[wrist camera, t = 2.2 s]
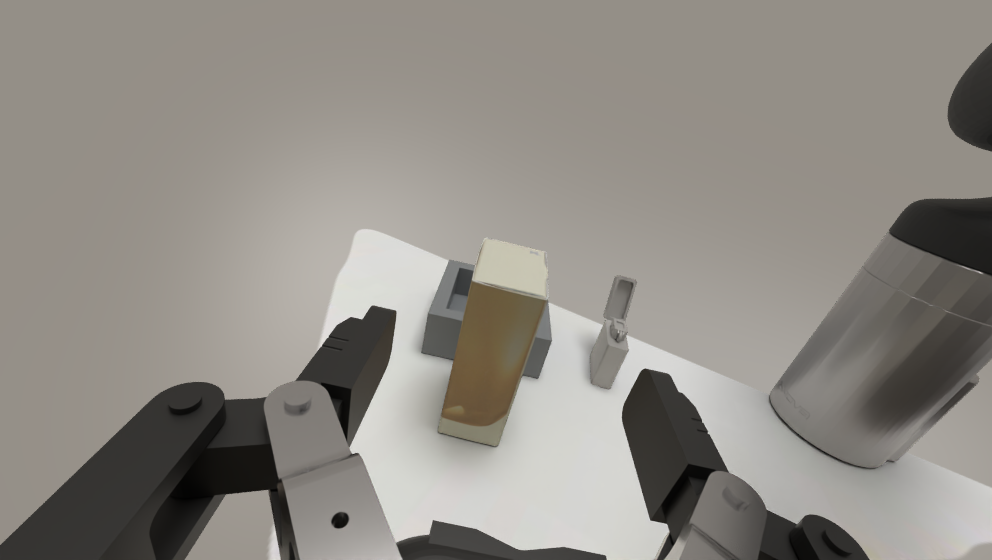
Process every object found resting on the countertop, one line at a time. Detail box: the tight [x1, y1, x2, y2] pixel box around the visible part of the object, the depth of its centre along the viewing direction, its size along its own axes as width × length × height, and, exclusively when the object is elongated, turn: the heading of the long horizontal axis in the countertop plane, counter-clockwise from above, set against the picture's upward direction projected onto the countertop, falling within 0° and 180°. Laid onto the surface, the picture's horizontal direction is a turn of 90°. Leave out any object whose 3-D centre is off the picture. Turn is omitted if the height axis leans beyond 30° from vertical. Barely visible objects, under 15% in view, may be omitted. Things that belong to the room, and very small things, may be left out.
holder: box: [422, 260, 552, 378], centre depth 37 cm, size 10×10×4 cm
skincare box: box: [438, 238, 548, 446], centre depth 27 cm, size 6×4×12 cm
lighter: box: [590, 275, 637, 389], centre depth 36 cm, size 7×2×8 cm, turn 169°
